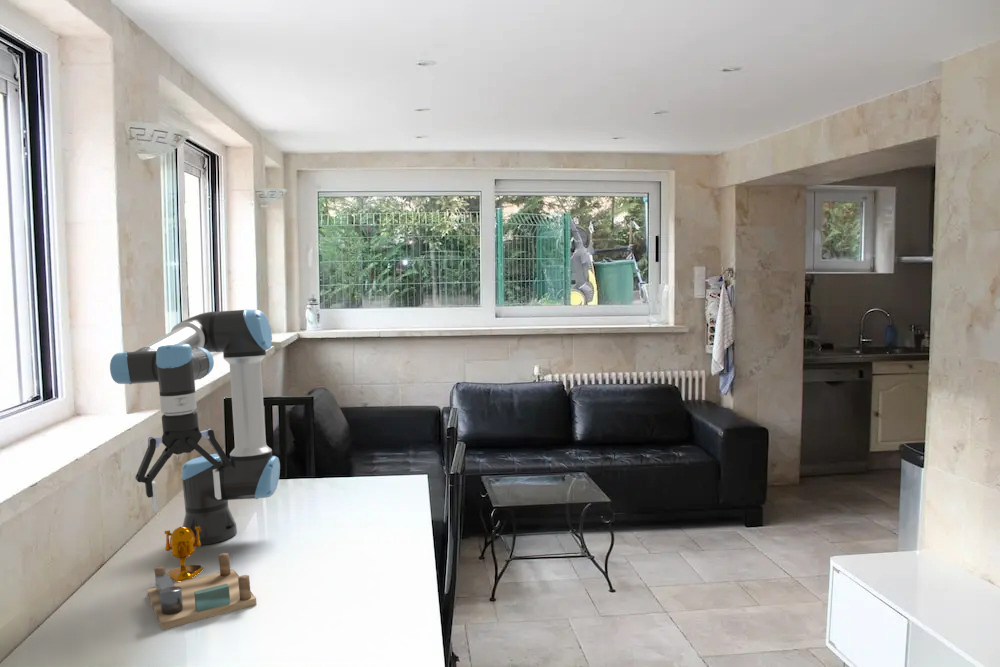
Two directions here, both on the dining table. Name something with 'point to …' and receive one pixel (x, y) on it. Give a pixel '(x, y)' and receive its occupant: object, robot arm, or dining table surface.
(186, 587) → the board
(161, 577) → the leg
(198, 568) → the figurine
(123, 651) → the dining table surface
